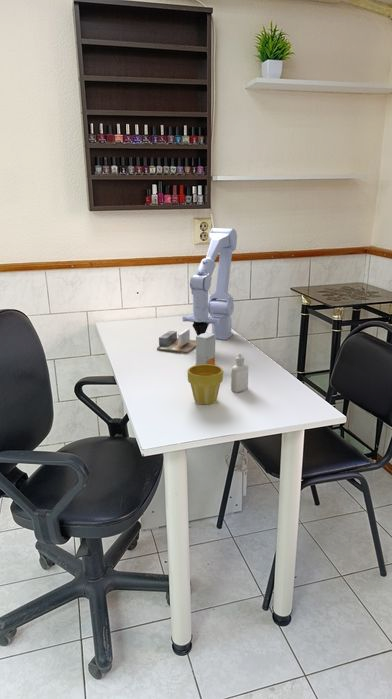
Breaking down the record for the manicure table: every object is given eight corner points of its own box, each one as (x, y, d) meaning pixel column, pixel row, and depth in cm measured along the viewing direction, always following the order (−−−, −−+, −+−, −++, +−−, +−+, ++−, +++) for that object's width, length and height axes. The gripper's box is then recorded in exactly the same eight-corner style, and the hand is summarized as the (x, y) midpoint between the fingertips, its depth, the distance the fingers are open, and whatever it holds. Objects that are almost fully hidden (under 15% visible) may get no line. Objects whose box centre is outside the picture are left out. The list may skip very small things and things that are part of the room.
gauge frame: (172, 339, 204) (172, 329, 202) (201, 343, 199) (201, 332, 198) (156, 350, 191) (155, 339, 190) (186, 354, 186) (186, 343, 185)
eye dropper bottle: (250, 391, 153) (250, 355, 149) (232, 393, 152) (232, 356, 148) (246, 386, 157) (247, 350, 153) (229, 387, 156) (229, 351, 152)
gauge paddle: (186, 340, 198) (186, 328, 196) (189, 340, 197) (189, 329, 196) (174, 349, 188) (174, 336, 186) (177, 349, 187) (177, 337, 186)
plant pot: (202, 390, 154) (202, 361, 151) (229, 398, 148) (230, 368, 145) (181, 401, 147) (180, 370, 144) (208, 410, 140) (208, 379, 137)
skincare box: (205, 371, 169) (205, 338, 165) (195, 369, 172) (195, 336, 168) (215, 366, 174) (215, 333, 170) (206, 364, 176) (205, 331, 172)
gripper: (178, 307, 186) (179, 341, 190) (214, 310, 180) (214, 345, 185) (186, 303, 192) (187, 336, 196) (221, 306, 186) (221, 340, 191)
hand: (201, 340), depth 191 cm, fingers closed
